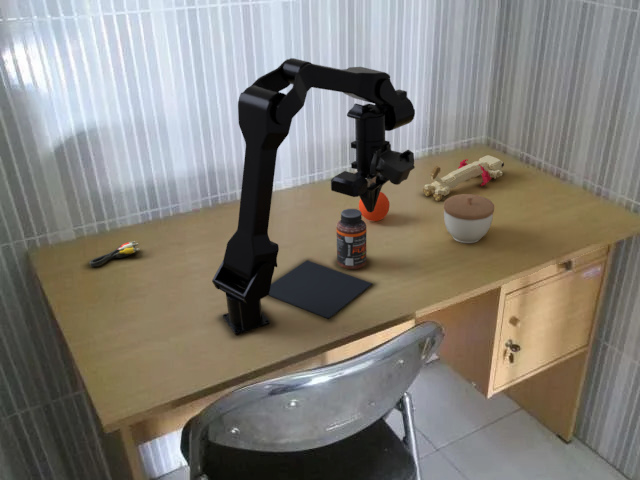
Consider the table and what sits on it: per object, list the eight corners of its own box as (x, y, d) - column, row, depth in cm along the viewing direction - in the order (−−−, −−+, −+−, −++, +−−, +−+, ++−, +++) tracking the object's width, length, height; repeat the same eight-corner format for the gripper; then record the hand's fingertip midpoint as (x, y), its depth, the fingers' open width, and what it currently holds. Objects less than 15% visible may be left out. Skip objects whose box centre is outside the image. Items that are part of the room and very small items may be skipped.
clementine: (350, 216, 155) (349, 187, 151) (375, 208, 159) (374, 180, 155) (370, 229, 150) (370, 200, 146) (395, 221, 154) (396, 192, 150)
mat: (307, 261, 138) (307, 260, 138) (372, 284, 131) (372, 283, 131) (260, 292, 128) (260, 291, 128) (328, 319, 121) (328, 317, 121)
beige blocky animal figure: (445, 209, 162) (514, 175, 175) (445, 176, 157) (516, 143, 170) (417, 196, 168) (485, 163, 181) (416, 163, 163) (486, 132, 176)
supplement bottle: (355, 273, 134) (354, 222, 128) (331, 265, 137) (329, 214, 130) (372, 261, 138) (372, 210, 132) (348, 253, 141) (347, 203, 135)
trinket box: (433, 241, 146) (435, 201, 141) (454, 221, 154) (456, 183, 149) (480, 253, 142) (483, 212, 137) (498, 232, 150) (502, 193, 145)
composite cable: (92, 269, 134) (89, 258, 132) (86, 258, 137) (83, 247, 136) (142, 256, 138) (140, 245, 137) (136, 246, 142) (133, 235, 140)
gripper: (378, 161, 119) (378, 240, 127) (431, 131, 132) (427, 204, 141) (327, 148, 124) (330, 224, 132) (383, 120, 137) (382, 192, 146)
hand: (370, 211), depth 138 cm, fingers closed
